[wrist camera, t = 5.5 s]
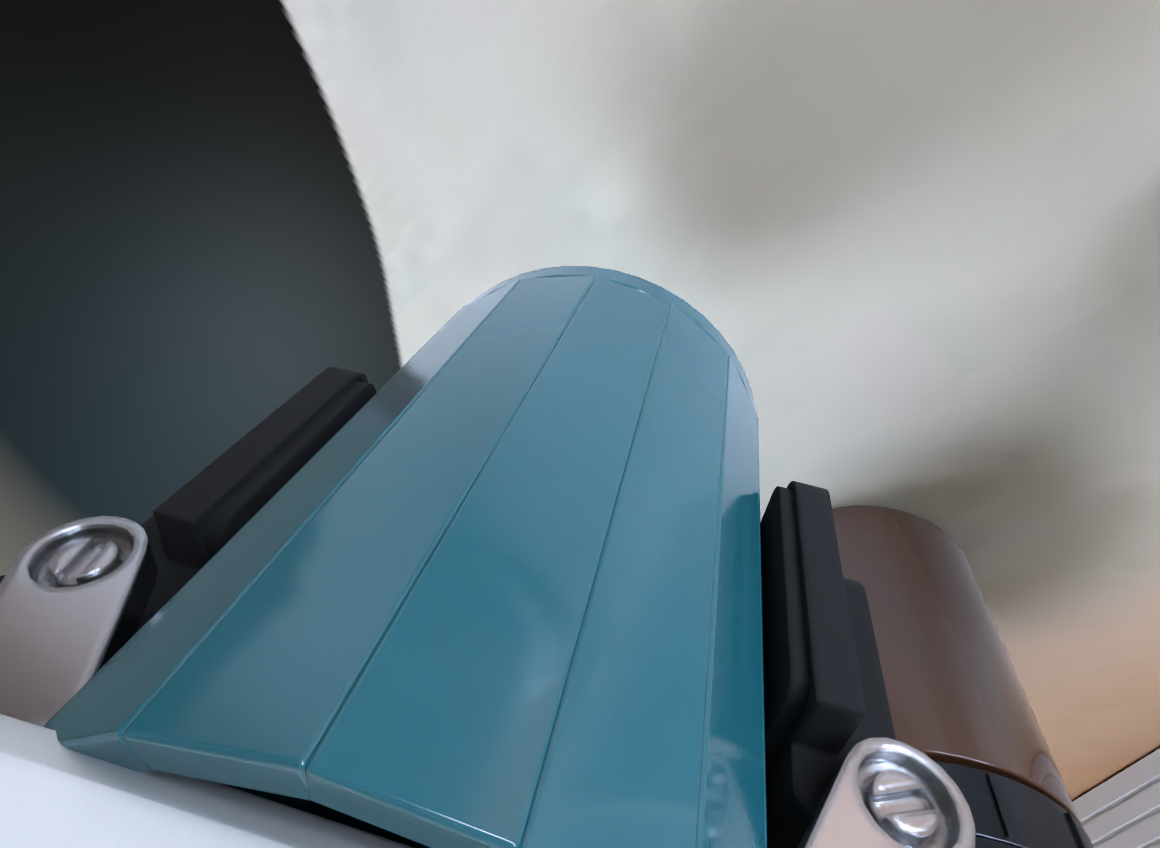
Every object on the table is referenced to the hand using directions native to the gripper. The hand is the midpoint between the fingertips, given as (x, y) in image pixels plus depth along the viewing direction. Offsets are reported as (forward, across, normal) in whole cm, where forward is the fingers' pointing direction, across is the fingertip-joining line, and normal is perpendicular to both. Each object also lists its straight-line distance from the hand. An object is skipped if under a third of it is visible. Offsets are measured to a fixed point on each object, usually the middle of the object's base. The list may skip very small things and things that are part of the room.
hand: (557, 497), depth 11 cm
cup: (+2, 0, 0) cm, 2 cm away
